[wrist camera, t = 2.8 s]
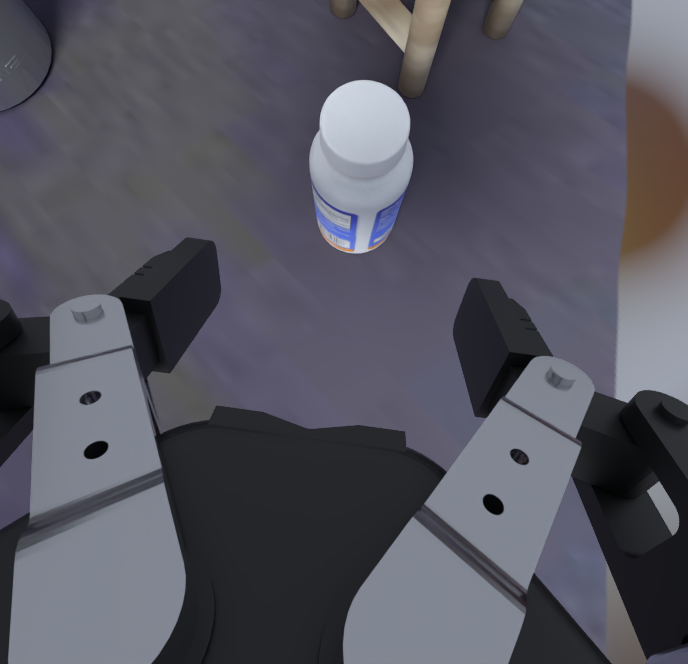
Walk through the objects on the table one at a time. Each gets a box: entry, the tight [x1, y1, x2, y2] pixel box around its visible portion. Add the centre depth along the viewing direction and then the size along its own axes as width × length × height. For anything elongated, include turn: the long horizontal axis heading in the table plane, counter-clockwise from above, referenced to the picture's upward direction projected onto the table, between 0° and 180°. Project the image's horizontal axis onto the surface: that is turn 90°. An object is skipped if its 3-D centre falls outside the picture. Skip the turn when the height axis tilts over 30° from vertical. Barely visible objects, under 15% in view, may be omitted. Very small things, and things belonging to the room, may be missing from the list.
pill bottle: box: [309, 80, 413, 253], centre depth 20 cm, size 5×5×10 cm
